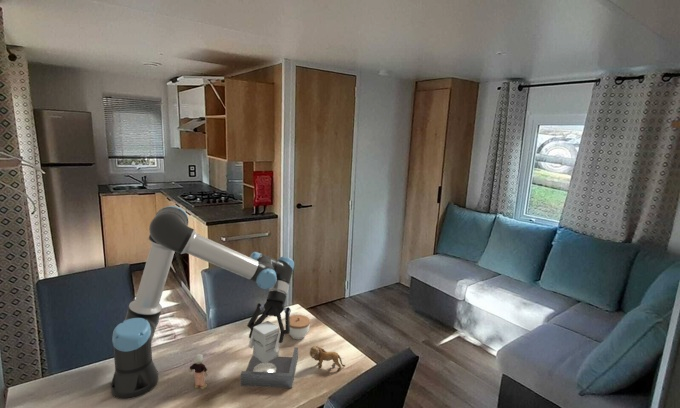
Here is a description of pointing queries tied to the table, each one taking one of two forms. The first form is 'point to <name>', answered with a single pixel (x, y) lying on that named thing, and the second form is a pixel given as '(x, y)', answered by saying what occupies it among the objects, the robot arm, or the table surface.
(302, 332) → the lidded jar
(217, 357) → the table surface
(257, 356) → the supplement box
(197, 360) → the grandmother figurine
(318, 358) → the lion figurine
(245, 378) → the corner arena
